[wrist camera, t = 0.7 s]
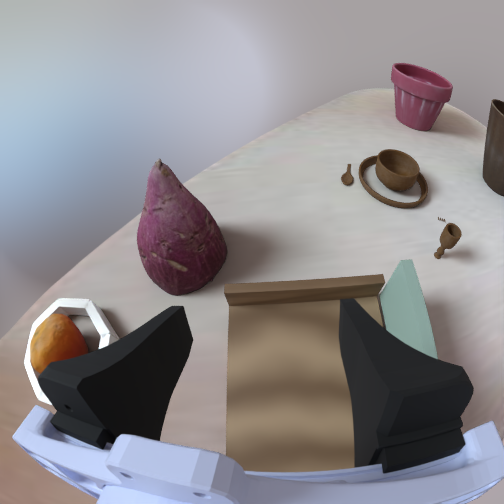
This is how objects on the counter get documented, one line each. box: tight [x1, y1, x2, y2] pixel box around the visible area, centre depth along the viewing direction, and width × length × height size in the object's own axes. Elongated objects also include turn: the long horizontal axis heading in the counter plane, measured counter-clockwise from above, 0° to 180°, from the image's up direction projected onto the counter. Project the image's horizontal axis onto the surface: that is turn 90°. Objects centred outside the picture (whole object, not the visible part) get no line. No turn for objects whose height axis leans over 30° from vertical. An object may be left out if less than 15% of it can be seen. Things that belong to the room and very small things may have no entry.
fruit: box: [30, 313, 88, 374], centre depth 26 cm, size 8×8×8 cm
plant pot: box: [391, 63, 453, 131], centre depth 47 cm, size 14×14×13 cm
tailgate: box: [379, 260, 438, 359], centre depth 20 cm, size 20×1×7 cm, turn 0°
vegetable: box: [137, 159, 227, 295], centre depth 31 cm, size 10×10×15 cm
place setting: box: [341, 149, 462, 259], centre depth 36 cm, size 18×20×6 cm
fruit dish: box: [24, 298, 120, 405], centre depth 27 cm, size 14×14×2 cm
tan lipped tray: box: [224, 274, 385, 472], centre depth 22 cm, size 22×16×4 cm
